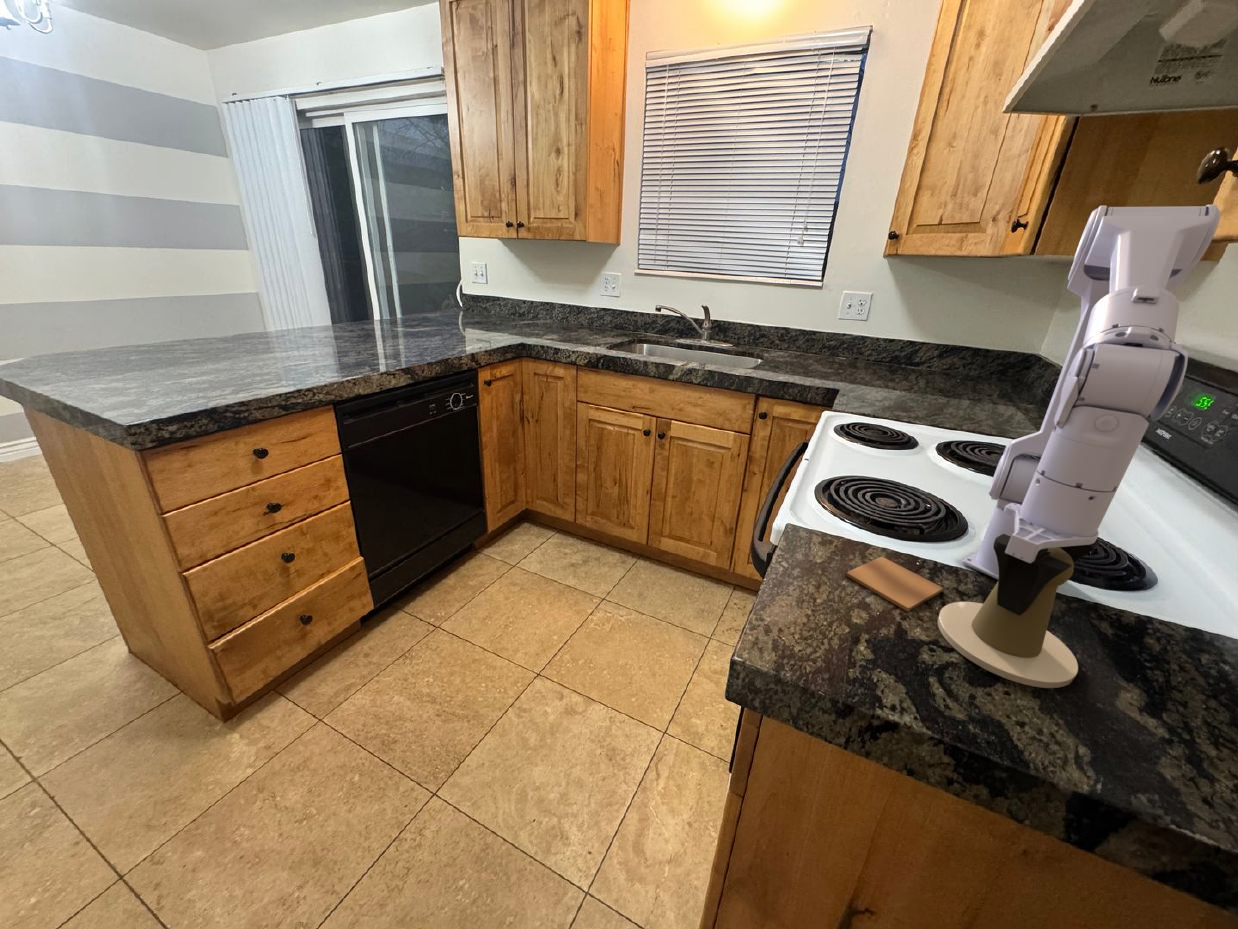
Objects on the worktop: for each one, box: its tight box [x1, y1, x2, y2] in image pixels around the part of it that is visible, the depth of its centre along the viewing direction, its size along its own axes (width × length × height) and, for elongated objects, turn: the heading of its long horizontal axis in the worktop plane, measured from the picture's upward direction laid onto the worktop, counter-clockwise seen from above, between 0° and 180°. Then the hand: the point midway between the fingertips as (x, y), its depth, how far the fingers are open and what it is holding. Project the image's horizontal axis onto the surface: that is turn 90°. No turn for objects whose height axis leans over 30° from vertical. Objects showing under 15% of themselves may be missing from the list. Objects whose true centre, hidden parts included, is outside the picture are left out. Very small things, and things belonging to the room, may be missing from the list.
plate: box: [937, 601, 1079, 689], centre depth 52 cm, size 12×12×1 cm
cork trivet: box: [845, 556, 944, 612], centre depth 62 cm, size 8×8×1 cm
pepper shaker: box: [971, 547, 1075, 657], centre depth 50 cm, size 6×6×11 cm
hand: (1021, 600), depth 51 cm, fingers closed on pepper shaker, 5 cm apart
